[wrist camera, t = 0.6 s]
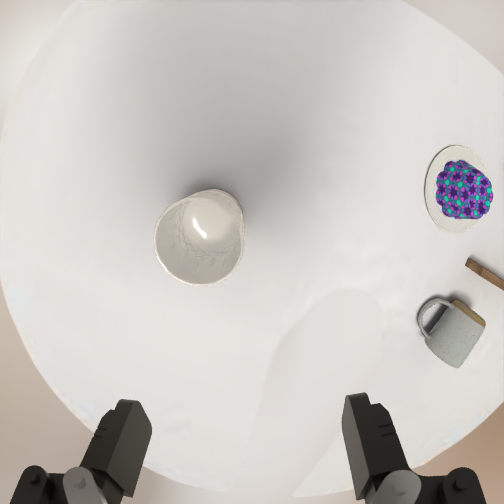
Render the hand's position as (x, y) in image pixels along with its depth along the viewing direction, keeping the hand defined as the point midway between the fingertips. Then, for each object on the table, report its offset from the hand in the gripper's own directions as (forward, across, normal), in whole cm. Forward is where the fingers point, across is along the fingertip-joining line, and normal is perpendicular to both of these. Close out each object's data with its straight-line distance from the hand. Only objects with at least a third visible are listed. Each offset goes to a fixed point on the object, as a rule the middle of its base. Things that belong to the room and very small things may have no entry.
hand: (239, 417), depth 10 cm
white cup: (+26, +5, -1) cm, 27 cm away
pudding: (+27, -28, -3) cm, 39 cm away
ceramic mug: (+26, -27, +17) cm, 42 cm away
